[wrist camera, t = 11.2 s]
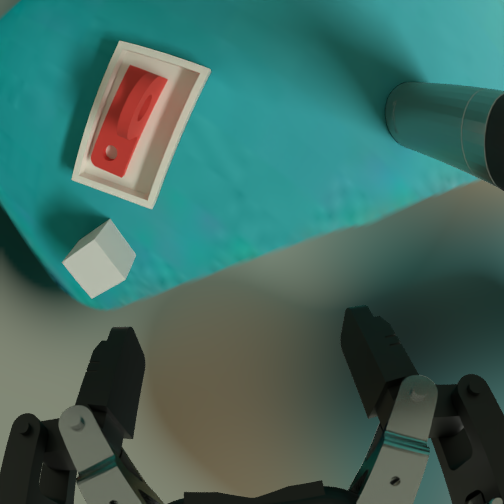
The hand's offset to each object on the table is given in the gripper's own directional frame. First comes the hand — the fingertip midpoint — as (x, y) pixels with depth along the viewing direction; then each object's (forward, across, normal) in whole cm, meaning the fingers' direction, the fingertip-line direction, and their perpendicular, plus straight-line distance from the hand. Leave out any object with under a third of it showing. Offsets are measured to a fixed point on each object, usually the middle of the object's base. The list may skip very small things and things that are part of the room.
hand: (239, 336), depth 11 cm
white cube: (+26, +17, +9) cm, 32 cm away
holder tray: (+26, +10, -6) cm, 29 cm away
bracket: (+26, +11, -7) cm, 29 cm away
